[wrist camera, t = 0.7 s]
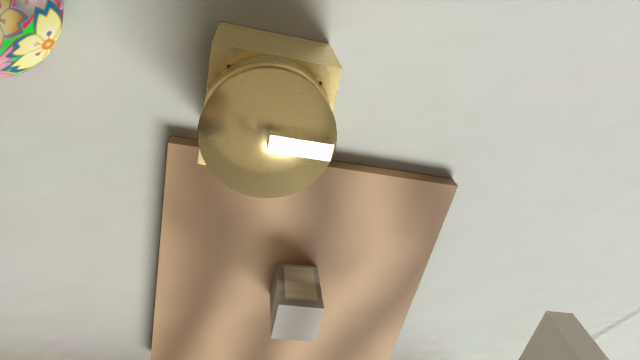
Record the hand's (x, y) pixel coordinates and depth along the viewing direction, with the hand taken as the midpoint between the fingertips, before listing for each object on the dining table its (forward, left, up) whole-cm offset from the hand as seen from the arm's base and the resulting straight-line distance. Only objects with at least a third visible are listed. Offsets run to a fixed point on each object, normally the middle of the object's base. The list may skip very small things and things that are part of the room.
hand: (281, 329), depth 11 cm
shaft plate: (+4, -13, -18) cm, 23 cm away
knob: (0, 0, -19) cm, 19 cm away
